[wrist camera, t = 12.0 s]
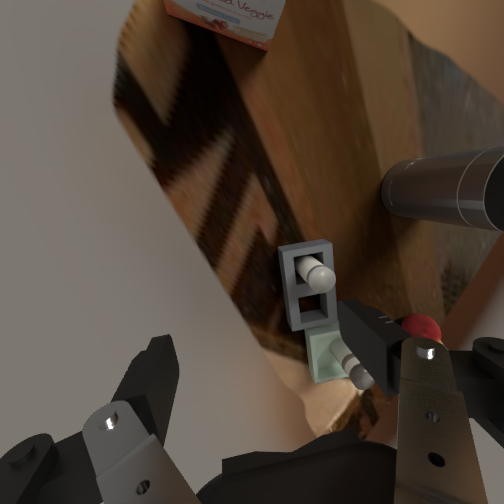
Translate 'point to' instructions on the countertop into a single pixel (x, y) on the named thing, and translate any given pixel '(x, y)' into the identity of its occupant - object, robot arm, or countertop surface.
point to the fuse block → (306, 285)
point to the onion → (422, 327)
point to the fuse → (314, 273)
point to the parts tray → (323, 353)
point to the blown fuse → (351, 365)
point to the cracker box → (232, 17)
